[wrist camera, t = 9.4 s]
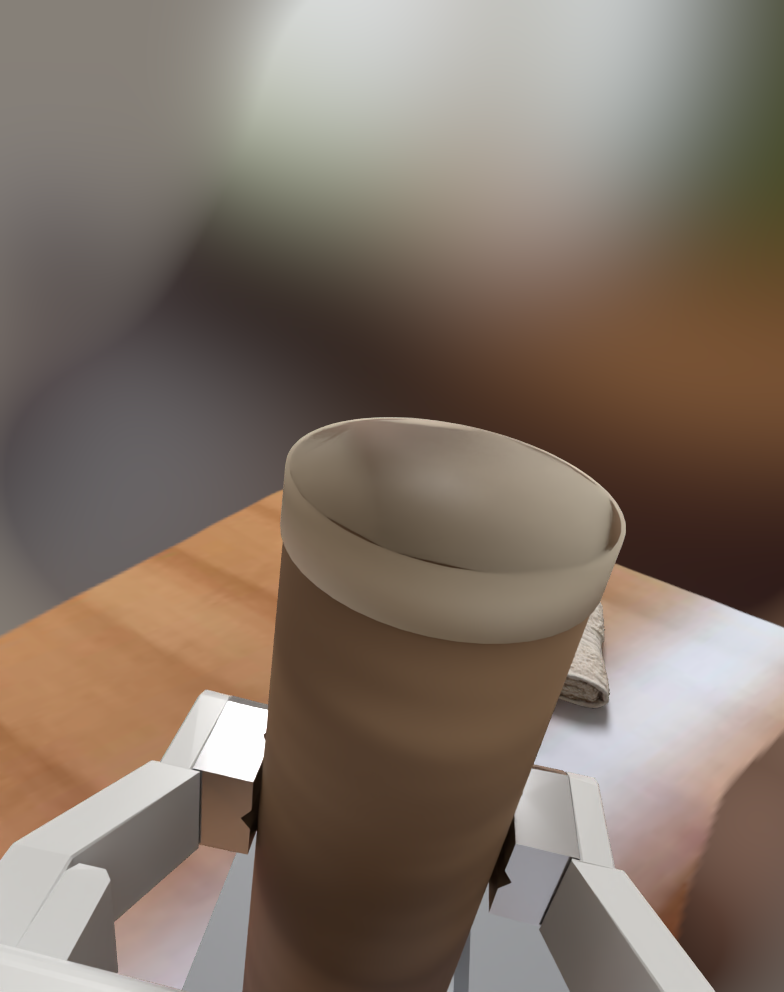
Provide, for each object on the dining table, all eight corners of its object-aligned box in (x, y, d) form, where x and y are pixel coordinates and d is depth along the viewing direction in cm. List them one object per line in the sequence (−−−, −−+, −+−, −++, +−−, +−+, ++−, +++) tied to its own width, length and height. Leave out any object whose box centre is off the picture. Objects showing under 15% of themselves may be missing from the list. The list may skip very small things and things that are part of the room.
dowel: (426, 956, 15) (595, 451, 9) (407, 1190, 12) (667, 616, 6) (269, 918, 16) (330, 399, 9) (203, 1135, 12) (230, 524, 6)
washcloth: (394, 557, 54) (400, 527, 53) (598, 618, 51) (610, 588, 50) (350, 637, 44) (356, 603, 42) (602, 720, 41) (618, 686, 39)
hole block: (541, 838, 32) (560, 793, 30) (571, 1250, 19) (607, 1211, 18) (281, 773, 33) (286, 726, 31) (148, 1126, 20) (146, 1078, 19)
